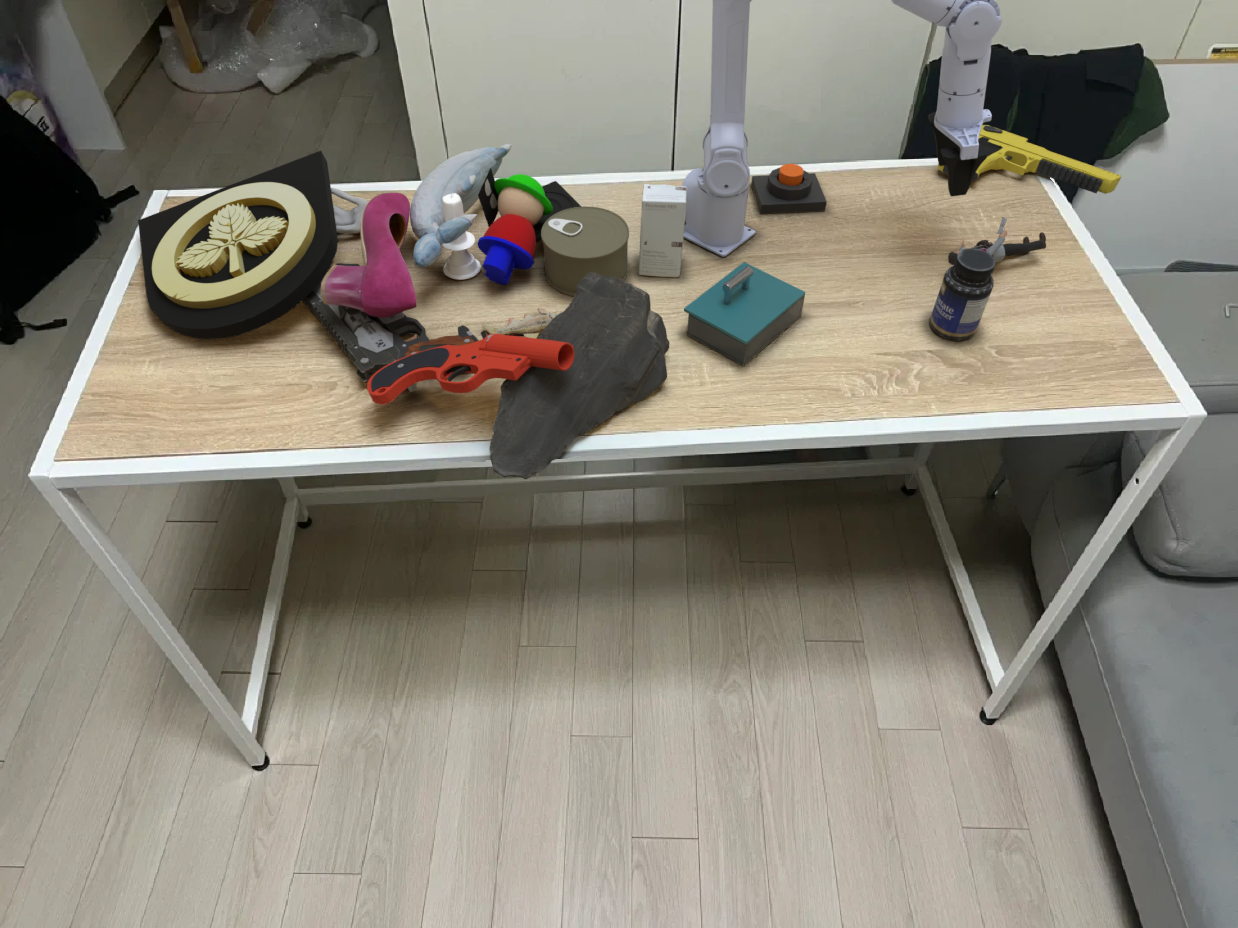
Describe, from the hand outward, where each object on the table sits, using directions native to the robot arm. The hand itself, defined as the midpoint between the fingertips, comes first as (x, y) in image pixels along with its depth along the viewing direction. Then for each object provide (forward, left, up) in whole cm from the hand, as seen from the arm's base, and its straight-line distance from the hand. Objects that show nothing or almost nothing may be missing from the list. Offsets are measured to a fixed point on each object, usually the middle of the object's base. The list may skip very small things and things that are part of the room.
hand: (952, 178), depth 129 cm
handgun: (+3, +17, -9) cm, 19 cm away
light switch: (-46, -41, -9) cm, 62 cm away
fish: (-33, -52, -10) cm, 62 cm away
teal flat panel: (-10, -33, -7) cm, 36 cm away
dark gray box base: (-10, -33, -11) cm, 36 cm away
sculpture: (-41, -53, 0) cm, 67 cm away
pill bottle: (+11, -15, -11) cm, 22 cm away
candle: (-47, -50, -11) cm, 69 cm away
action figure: (+12, +7, -8) cm, 16 cm away
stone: (-19, -45, -6) cm, 49 cm away
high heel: (-55, -61, -4) cm, 82 cm away
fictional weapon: (-43, -58, -9) cm, 73 cm away
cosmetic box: (-26, -31, -11) cm, 42 cm away
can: (-34, -39, -11) cm, 52 cm away
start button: (-23, -4, -7) cm, 24 cm away
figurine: (-78, -62, -8) cm, 100 cm away
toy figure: (-40, -50, -8) cm, 65 cm away
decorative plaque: (-55, -79, -7) cm, 97 cm away
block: (-23, -4, -11) cm, 25 cm away
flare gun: (-23, -76, -3) cm, 80 cm away
